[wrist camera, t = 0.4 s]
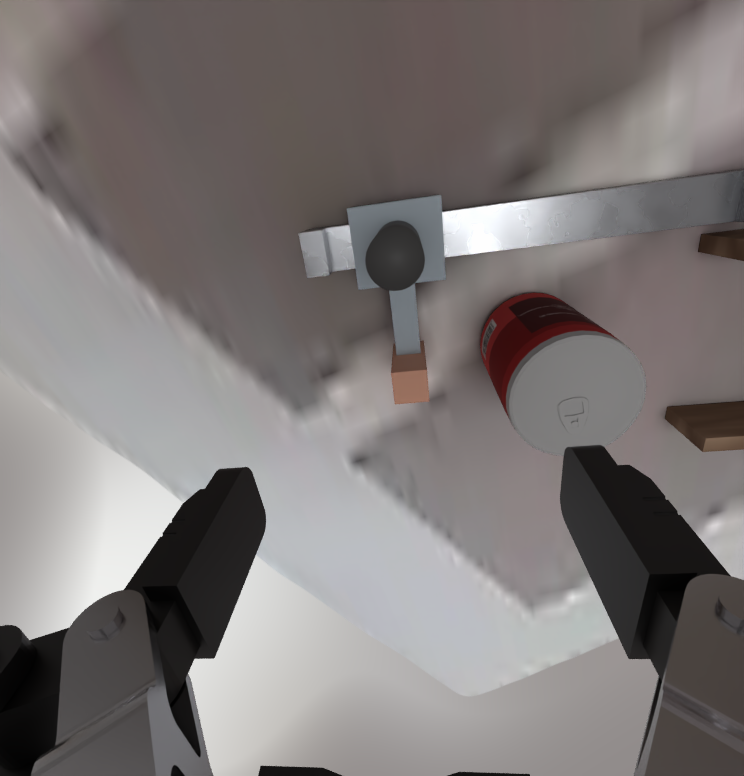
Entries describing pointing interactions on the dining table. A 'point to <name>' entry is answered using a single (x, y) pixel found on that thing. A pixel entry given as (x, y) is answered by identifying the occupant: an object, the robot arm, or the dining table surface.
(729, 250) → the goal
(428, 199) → the grey block with post
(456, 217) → the rail
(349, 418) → the dining table surface
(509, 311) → the canned food
